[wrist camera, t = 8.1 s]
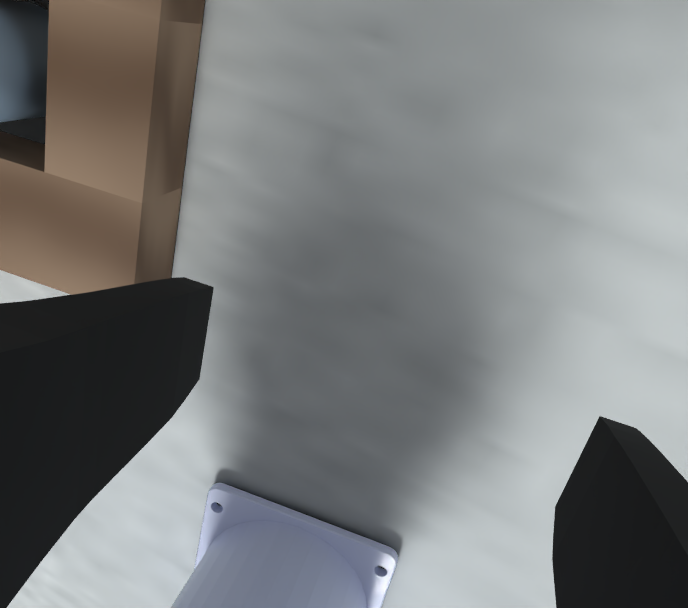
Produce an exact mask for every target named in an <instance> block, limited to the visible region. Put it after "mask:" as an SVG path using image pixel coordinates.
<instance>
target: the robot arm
mask: <svg viewBox="0 0 688 608" xmlns="http://www.w3.org/2000/svg"><path fill="white" fill-rule="evenodd" d="M213 288H214V287H211V286H208V285H205V284H202V283H199V282H196V281H193V280H190V279H187V278H184V277H183V278H168V279H161V280H154V281H148V282H142V283H137V284H131V285H126V286H120V287H115V288H109V289H104V290H98V291H93V292H87V293H80V294H73V295H67V296H60V297H53V298H46V299H39V300H32V301H23V302H13V303H2V304H0V608H7V606H8V605H9V603H10V602H11V601H12V599H13V598H14V597H15V595H16V594H17V593H18V591H19V590H20V589H21V587H22V586H23V585H24V583H25V582H26V581H27V579H28V578H29V577H30V575H31V574H32V573H33V571H34V570H35V569H36V567H37V566H38V565H39V563H40V562H41V561H42V560H43V558H44V557H45V556H46V555H47V553H48V552H49V551H50V549H51V548H52V547H53V546H54V544H55V543H56V542H57V541H58V539H59V538H60V537H61V536H62V534H63V533H64V532H65V531H66V529H67V528H68V527H69V525H70V524H71V523H72V522H73V520H74V519H75V518H76V517H77V516H78V514H79V513H80V512H81V511H82V510H83V509H84V508H85V507H86V506H87V504H88V503H89V502H90V501H91V500H92V499H93V498H94V497H95V496H96V495H97V494H98V493H99V492H100V491H101V490H102V489H103V488H104V487H105V486H106V485H107V484H108V483H109V482H110V480H111V479H112V478H113V477H114V476H115V475H116V474H117V473H118V472H119V471H120V470H121V469H122V468H123V467H124V466H125V465H126V464H127V463H128V462H129V461H130V460H131V459H132V458H133V457H134V456H135V455H136V454H137V453H138V452H139V451H140V450H141V449H142V448H143V447H144V446H145V445H146V444H147V443H148V442H149V441H150V440H151V439H152V438H153V437H154V436H155V435H156V433H157V432H158V431H159V430H160V429H161V428H162V427H163V426H164V425H165V424H166V423H167V422H168V421H169V420H170V419H171V418H172V416H173V415H174V414H175V412H176V411H177V410H178V408H179V407H180V406H181V404H182V403H183V402H184V400H185V399H186V397H187V396H188V395H189V393H190V392H191V390H192V389H193V387H194V386H195V385H196V383H197V382H198V380H199V378H200V371H201V365H202V358H203V352H204V346H205V339H206V333H207V326H208V320H209V313H210V307H211V301H212V294H213ZM217 503H219V504H221V506H219V505H217ZM552 559H553V572H554V584H555V595H556V607H557V608H688V482H687V481H686V480H685V479H684V477H683V476H682V475H681V474H680V473H679V472H678V471H677V470H676V469H675V468H674V466H673V465H672V464H671V463H670V462H669V461H668V460H667V459H666V458H665V456H664V455H663V454H662V453H661V452H660V451H659V450H658V449H657V448H656V447H655V446H654V445H653V444H652V443H651V442H650V441H649V440H648V439H647V438H646V437H645V436H644V435H643V434H642V433H641V432H640V431H639V430H638V429H636V428H634V427H631V426H628V425H625V424H622V423H619V422H616V421H613V420H610V419H607V418H604V417H601V416H600V417H599V419H598V421H597V423H596V425H595V427H594V429H593V431H592V433H591V435H590V437H589V439H588V441H587V443H586V445H585V447H584V449H583V451H582V453H581V455H580V458H579V460H578V462H577V464H576V466H575V468H574V470H573V472H572V474H571V476H570V478H569V480H568V482H567V484H566V486H565V488H564V490H563V492H562V494H561V496H560V498H559V500H558V502H557V504H556V506H555V520H554V534H553V557H552ZM397 562H398V555H397V553H396V551H395V550H394V549H392V548H391V547H389V546H386V545H384V544H381V543H378V542H376V541H373V540H370V539H368V538H365V537H363V536H360V535H357V534H355V533H352V532H349V531H347V530H344V529H342V528H339V527H336V526H334V525H331V524H329V523H326V522H323V521H321V520H318V519H315V518H313V517H310V516H308V515H305V514H302V513H300V512H297V511H295V510H292V509H289V508H287V507H284V506H281V505H279V504H276V503H274V502H271V501H268V500H266V499H263V498H261V497H258V496H255V495H253V494H250V493H247V492H245V491H242V490H240V489H237V488H234V487H232V486H229V485H226V484H224V483H215V484H214V485H213V486H212V487H211V488H210V490H209V492H208V495H207V501H206V506H205V512H204V518H203V523H202V529H201V534H200V540H199V546H198V551H197V557H196V562H195V568H194V572H193V573H192V575H191V576H190V578H189V580H188V581H187V583H186V584H185V586H184V587H183V589H182V591H181V592H180V594H179V595H178V597H177V598H176V600H175V602H174V603H173V605H172V606H171V608H381V607H382V604H383V601H384V598H385V596H386V593H387V590H388V588H389V585H390V582H391V579H392V577H393V574H394V571H395V569H396V566H397ZM378 566H382V567H384V568H385V569H381V568H379V567H378Z"/></svg>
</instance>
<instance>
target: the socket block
mask: <svg viewBox="0 0 688 608" xmlns="http://www.w3.org/2000/svg"><path fill="white" fill-rule="evenodd" d="M204 5H205V0H49V23H48V60H47V97H46V134H45V145H44V144H41V143H37V142H34V141H31V140H28V139H25V138H21V137H18V136H15V135H12V134H9V133H5V132H2V131H0V270H2V271H5V272H8V273H11V274H14V275H17V276H20V277H23V278H25V279H28V280H31V281H34V282H37V283H40V284H43V285H45V286H48V287H51V288H54V289H57V290H60V291H63V292H66V293H68V294H71V295H73V294H80V293H87V292H93V291H98V290H104V289H109V288H115V287H120V286H126V285H131V284H137V283H142V282H148V281H154V280H161V279H168V278H171V274H172V265H173V257H174V249H175V241H176V233H177V225H178V217H179V208H180V200H181V192H182V184H183V176H184V168H185V160H186V151H187V143H188V135H189V127H190V119H191V111H192V103H193V95H194V86H195V78H196V70H197V62H198V54H199V46H200V38H201V29H202V21H203V13H204Z"/></svg>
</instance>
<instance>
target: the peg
mask: <svg viewBox="0 0 688 608" xmlns="http://www.w3.org/2000/svg"><path fill="white" fill-rule="evenodd" d="M48 23H49V12H48V11H47V10H46V9H44V8H42V7H40V6H38V5H36V4H33V3H29V2H22V1H13V0H0V122H7V121H14V120H22V119H30V118H38V117H45V116H46V97H47V60H48Z"/></svg>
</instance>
